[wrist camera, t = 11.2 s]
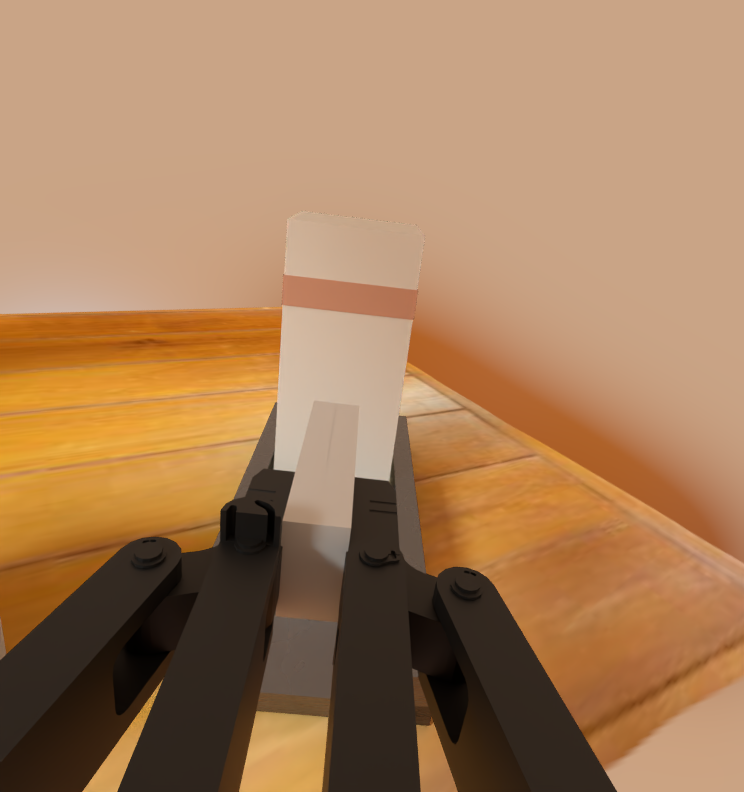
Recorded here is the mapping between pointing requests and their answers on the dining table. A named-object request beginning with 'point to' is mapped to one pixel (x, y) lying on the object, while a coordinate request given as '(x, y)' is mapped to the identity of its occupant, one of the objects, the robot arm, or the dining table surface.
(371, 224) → the block
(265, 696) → the chute
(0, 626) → the medicine box
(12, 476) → the dining table surface
